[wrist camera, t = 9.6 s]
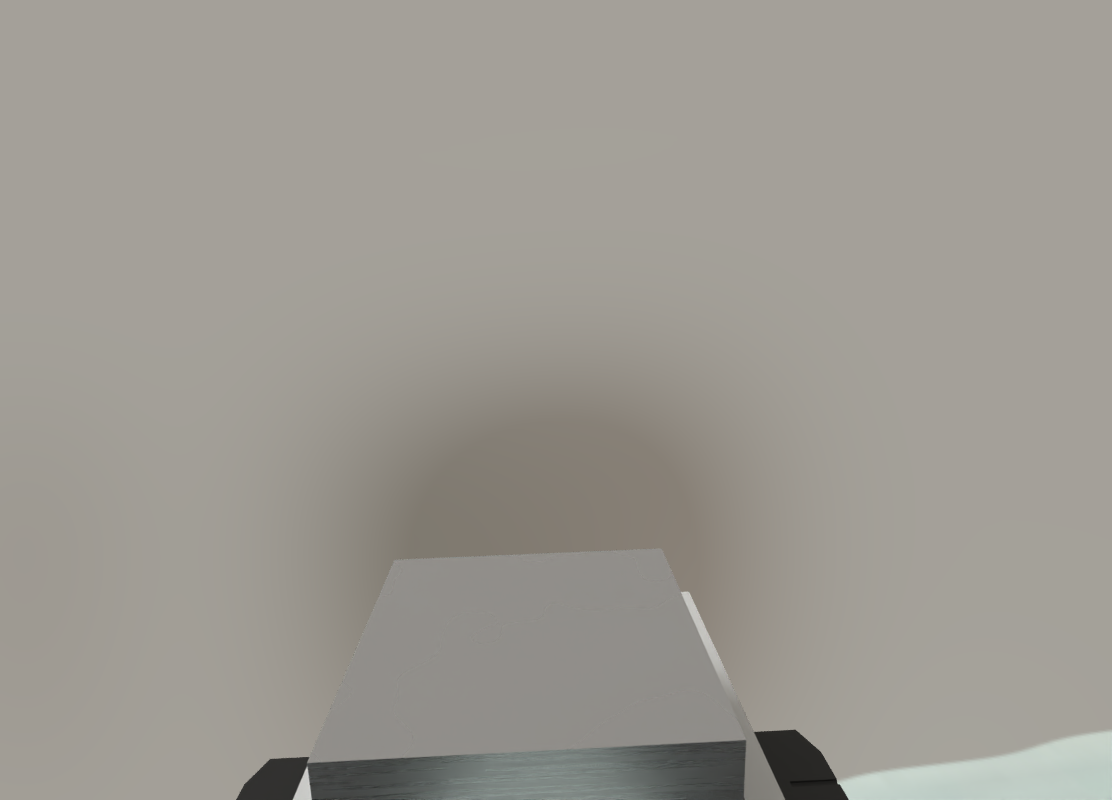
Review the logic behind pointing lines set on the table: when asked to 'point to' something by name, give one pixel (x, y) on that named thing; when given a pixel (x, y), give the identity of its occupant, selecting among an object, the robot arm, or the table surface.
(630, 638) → the capped grey pillar
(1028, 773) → the table surface
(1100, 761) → the table surface
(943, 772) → the table surface
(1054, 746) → the table surface
